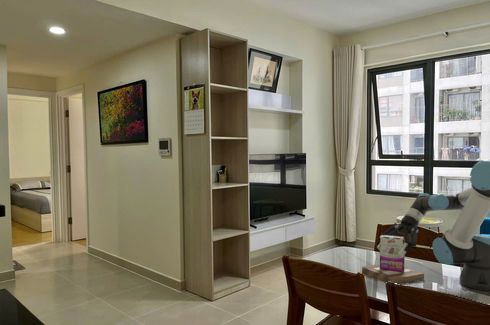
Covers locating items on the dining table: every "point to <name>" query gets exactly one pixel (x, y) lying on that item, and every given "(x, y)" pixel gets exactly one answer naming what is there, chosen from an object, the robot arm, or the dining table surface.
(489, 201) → the robot arm
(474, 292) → the dining table surface
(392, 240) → the candy bar box
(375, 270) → the walnut plinth
